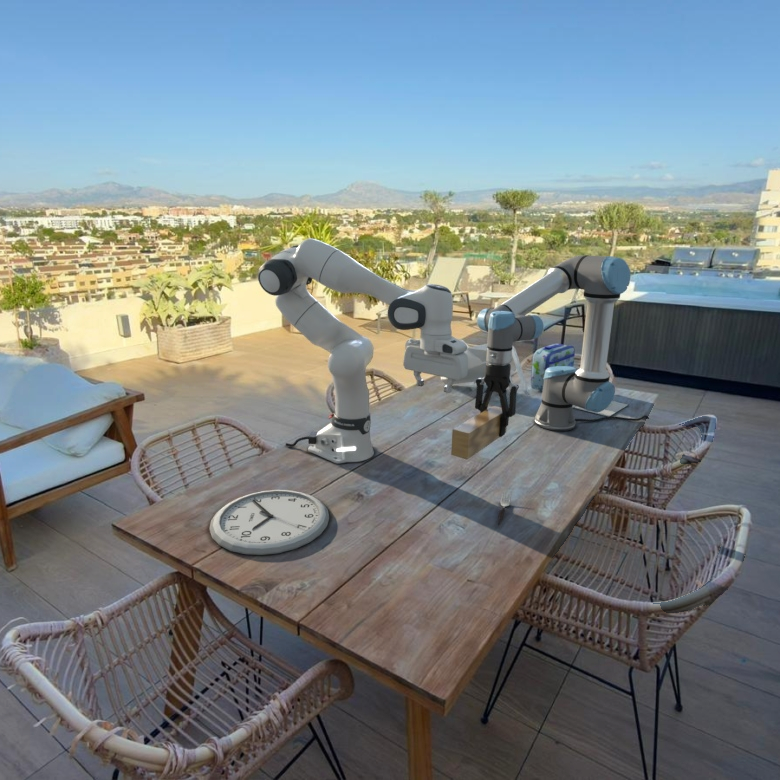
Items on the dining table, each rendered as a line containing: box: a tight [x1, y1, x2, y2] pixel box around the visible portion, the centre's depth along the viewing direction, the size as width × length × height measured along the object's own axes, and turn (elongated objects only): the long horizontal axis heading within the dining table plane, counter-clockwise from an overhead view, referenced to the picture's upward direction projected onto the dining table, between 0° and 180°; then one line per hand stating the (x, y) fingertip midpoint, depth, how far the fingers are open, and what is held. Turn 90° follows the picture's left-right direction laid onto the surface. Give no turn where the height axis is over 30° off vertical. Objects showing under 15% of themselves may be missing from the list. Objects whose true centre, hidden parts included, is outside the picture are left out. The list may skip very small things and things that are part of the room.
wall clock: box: [209, 489, 330, 556], centre depth 135 cm, size 30×2×30 cm
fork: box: [497, 491, 512, 526], centre depth 140 cm, size 3×16×2 cm, turn 160°
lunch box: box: [530, 343, 576, 391], centre depth 249 cm, size 26×11×21 cm, turn 134°
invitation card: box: [573, 400, 629, 417], centre depth 226 cm, size 21×1×15 cm
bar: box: [450, 405, 508, 460], centre depth 159 cm, size 26×5×8 cm, turn 143°
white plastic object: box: [440, 338, 531, 399], centre depth 245 cm, size 37×45×31 cm
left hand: (433, 388), depth 153 cm, fingers open, 8 cm apart
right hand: (493, 433), depth 166 cm, fingers closed on bar, 5 cm apart
